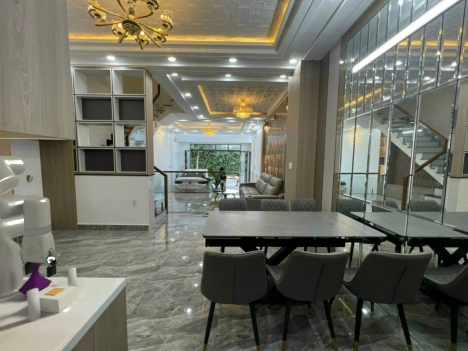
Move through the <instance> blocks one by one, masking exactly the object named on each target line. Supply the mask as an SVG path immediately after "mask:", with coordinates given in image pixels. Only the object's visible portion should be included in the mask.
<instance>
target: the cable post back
mask: <svg viewBox="0 0 468 351" xmlns="http://www.w3.org/2000/svg"><path fill="white" fill-rule="evenodd" d="M66 275H67V276H66V277H67V286H75V287H78V280H77V279H78V278H77V267H75V266H74V267H69V268H68V269H67V270H66Z"/></svg>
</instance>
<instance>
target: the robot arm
mask: <svg viewBox="0 0 468 351" xmlns="http://www.w3.org/2000/svg"><path fill="white" fill-rule="evenodd" d="M26 169H27V168H26V163H25V161H24V160H23V159H22V158H21V157H19V156H17V155H16V156H15V155H0V299H4V298H7V297H12V296H14V295H16V294H18V293H20V292H19V291H18V290H19V289H20V288H21V287H22V286H23V285H24V284H25V282H26V281H27V280H28V279H27V280H26V279H24V275H25V276H27V275H29V274H30V275H31V274H32V272H34V271H35V263H43V264H44V263H45V264H46V265H47V267H46V269H45V270H46V278H51V277H53V276H54V275H56V274H57V264H58V263H59V261H60V258H61V257H62V255H61V253H59V252H58V251H56V245H55V240H54V235H53V233H52V219H51V201H50V199H49V198H48V197H45V196H44V197H43V196H40V195H37V194H27V195H23V194H18V193H17V194H6V193H8V192H9V191H12V190H14V189H15V188H16V187H17V186H18V185H19V183H20V178H19V176H20V175H23V174H24V172H25V171H26ZM3 194H6V195H3ZM20 236H22V241H21V245H19V243H17V242H15V241H14V240H13V239H14V238H17V237H20ZM23 265H24V267H23ZM23 268H24V271H23ZM23 272H24V273H23Z"/></svg>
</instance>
